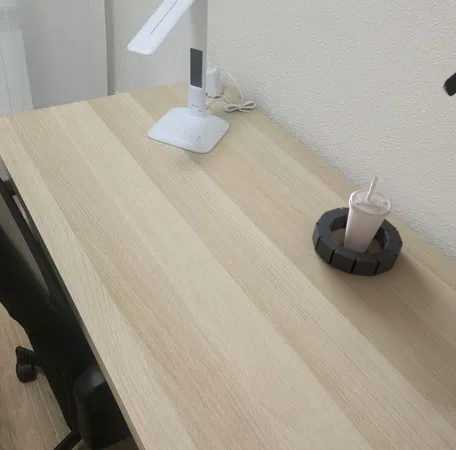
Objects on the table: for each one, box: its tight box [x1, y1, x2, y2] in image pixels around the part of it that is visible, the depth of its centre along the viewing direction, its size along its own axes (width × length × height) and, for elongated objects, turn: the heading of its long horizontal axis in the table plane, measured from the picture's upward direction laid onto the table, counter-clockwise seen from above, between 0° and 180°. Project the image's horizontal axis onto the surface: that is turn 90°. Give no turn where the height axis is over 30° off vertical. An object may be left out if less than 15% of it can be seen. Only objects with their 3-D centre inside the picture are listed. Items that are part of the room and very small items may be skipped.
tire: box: [311, 206, 404, 277], centre depth 92 cm, size 14×14×3 cm
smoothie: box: [343, 175, 393, 253], centre depth 88 cm, size 6×6×14 cm
